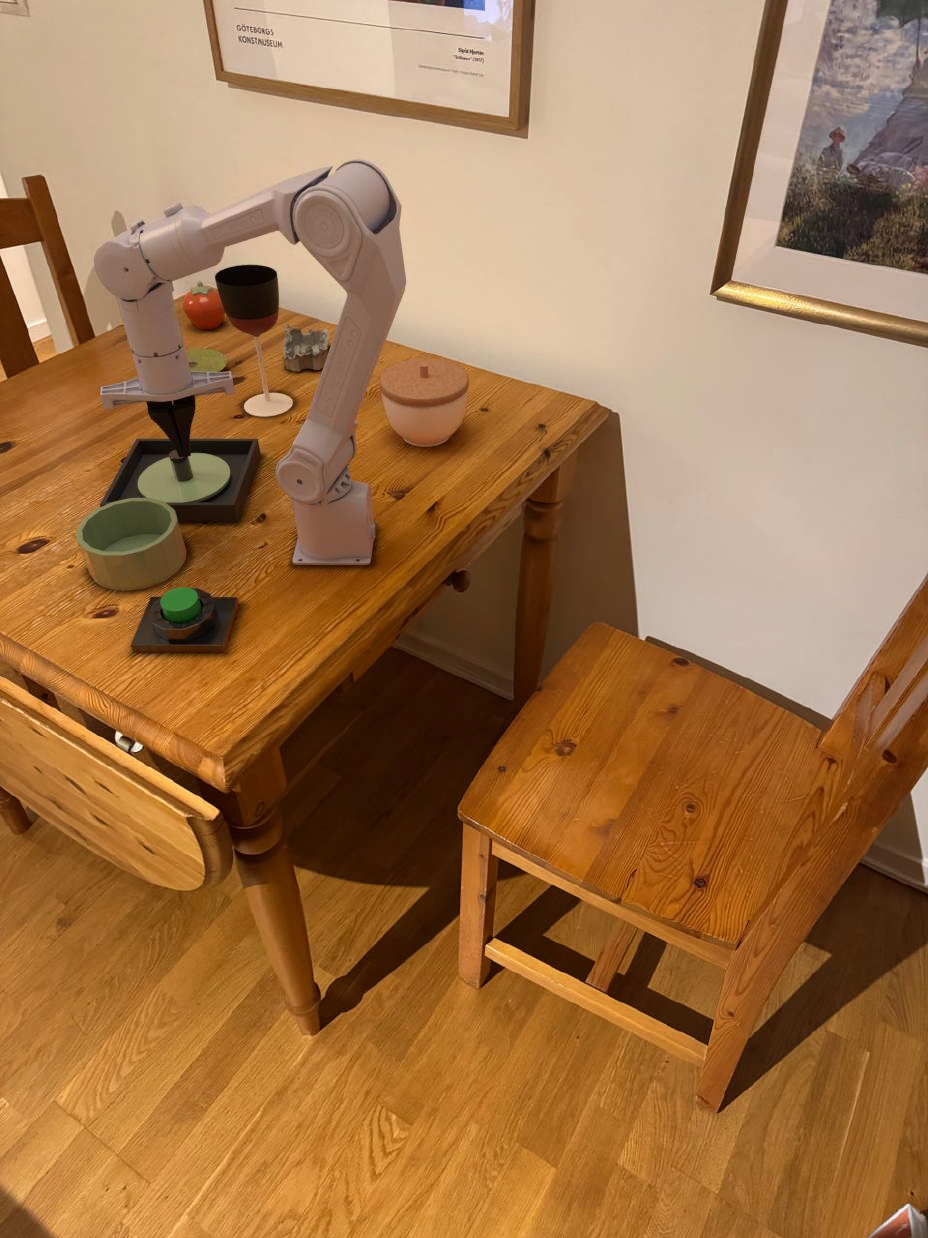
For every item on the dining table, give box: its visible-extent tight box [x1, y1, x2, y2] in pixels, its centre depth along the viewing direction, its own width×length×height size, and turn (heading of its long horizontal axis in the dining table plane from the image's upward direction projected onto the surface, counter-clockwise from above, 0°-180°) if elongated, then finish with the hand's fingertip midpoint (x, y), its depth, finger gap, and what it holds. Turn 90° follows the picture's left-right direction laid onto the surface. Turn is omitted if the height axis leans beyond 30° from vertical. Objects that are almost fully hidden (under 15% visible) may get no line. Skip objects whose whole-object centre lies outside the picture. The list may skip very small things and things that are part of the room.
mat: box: [185, 347, 228, 372], centre depth 141 cm, size 11×11×2 cm
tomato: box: [182, 280, 226, 330], centre depth 153 cm, size 7×7×8 cm
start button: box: [160, 586, 201, 622], centre depth 94 cm, size 4×4×2 cm
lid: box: [138, 450, 231, 502], centre depth 115 cm, size 12×12×5 cm
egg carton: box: [282, 323, 330, 372], centre depth 144 cm, size 11×8×4 cm
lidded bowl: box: [378, 357, 470, 448], centre depth 123 cm, size 13×13×11 cm
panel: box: [130, 587, 240, 654], centre depth 96 cm, size 10×8×3 cm
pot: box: [75, 498, 187, 592], centre depth 104 cm, size 11×11×5 cm
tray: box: [99, 438, 262, 523], centre depth 116 cm, size 17×16×3 cm
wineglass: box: [214, 264, 294, 417], centre depth 127 cm, size 8×9×20 cm
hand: (184, 452), depth 104 cm, fingers closed
